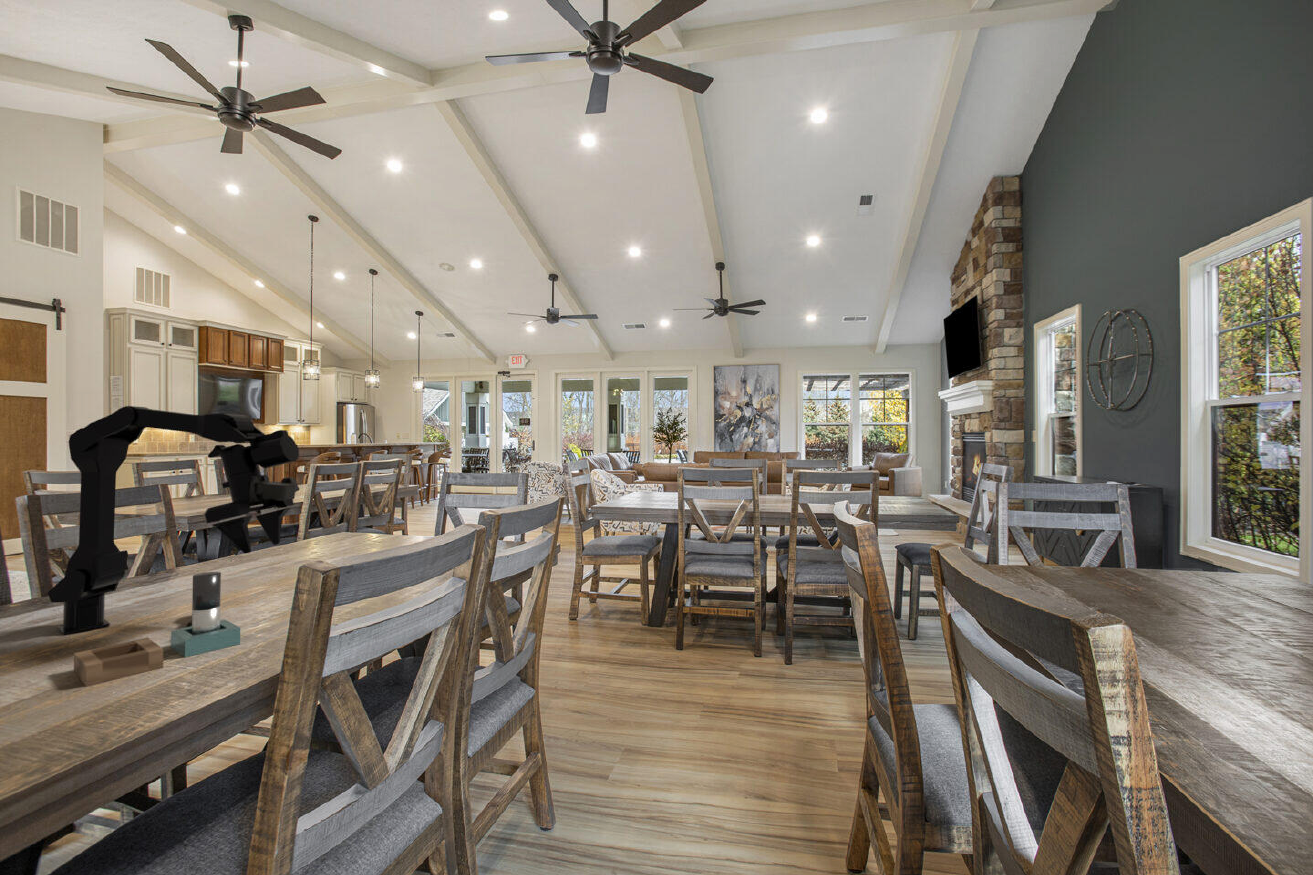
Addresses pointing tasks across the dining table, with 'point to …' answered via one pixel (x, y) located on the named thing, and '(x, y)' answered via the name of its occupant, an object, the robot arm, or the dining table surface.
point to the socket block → (205, 639)
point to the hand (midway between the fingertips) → (262, 548)
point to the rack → (117, 661)
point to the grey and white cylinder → (206, 602)
